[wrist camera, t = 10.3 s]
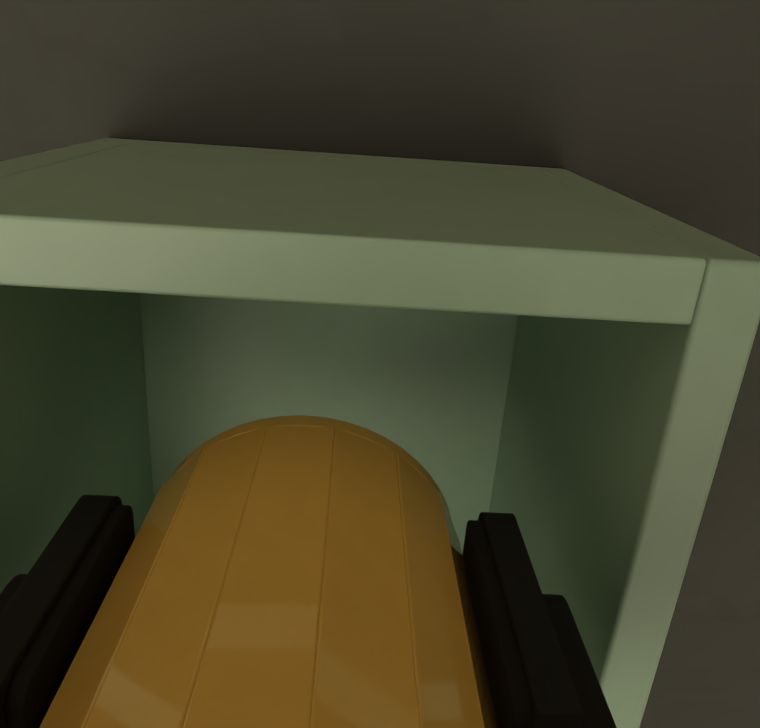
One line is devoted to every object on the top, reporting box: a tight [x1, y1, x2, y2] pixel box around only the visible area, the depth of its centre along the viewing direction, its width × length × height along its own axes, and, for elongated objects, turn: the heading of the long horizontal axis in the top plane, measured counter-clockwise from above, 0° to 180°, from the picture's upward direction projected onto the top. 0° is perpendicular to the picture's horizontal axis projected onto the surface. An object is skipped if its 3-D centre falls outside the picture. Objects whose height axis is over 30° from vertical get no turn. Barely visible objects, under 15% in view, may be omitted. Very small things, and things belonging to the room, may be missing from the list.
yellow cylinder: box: [39, 415, 498, 728], centre depth 9 cm, size 5×5×6 cm
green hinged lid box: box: [0, 138, 760, 728], centre depth 16 cm, size 14×12×10 cm
